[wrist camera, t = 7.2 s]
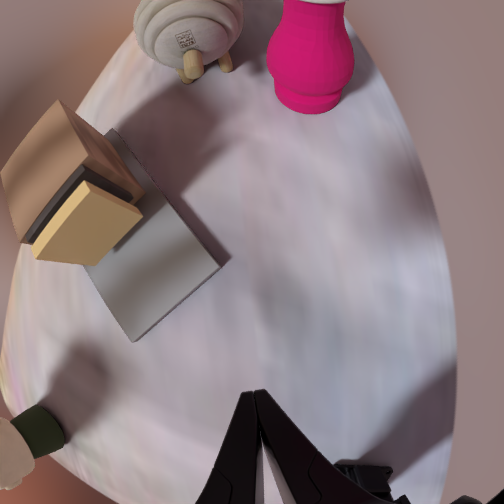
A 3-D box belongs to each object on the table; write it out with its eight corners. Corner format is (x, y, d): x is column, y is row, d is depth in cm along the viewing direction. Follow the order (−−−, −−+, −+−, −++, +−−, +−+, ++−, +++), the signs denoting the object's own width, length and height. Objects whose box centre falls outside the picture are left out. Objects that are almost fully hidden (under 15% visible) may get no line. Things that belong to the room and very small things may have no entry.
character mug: (25, 379, 24) (-51, 400, 11) (62, 397, 23) (-22, 433, 10) (41, 447, 23) (-20, 479, 10) (78, 468, 22) (16, 513, 9)
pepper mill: (290, 55, 24) (280, -115, 4) (355, 82, 23) (399, -94, 3) (255, 100, 24) (210, -102, 4) (327, 132, 23) (372, -90, 3)
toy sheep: (231, 9, 26) (215, -57, 15) (276, 95, 24) (268, 3, 13) (152, 36, 27) (118, -23, 16) (168, 130, 24) (111, 57, 13)
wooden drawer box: (222, 267, 22) (179, 257, 13) (137, 340, 23) (67, 365, 13) (116, 132, 25) (64, 84, 16) (55, 198, 25) (-7, 174, 16)
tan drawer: (143, 216, 21) (90, 191, 14) (95, 266, 21) (35, 259, 14) (91, 137, 23) (47, 104, 16) (52, 181, 23) (4, 158, 16)
